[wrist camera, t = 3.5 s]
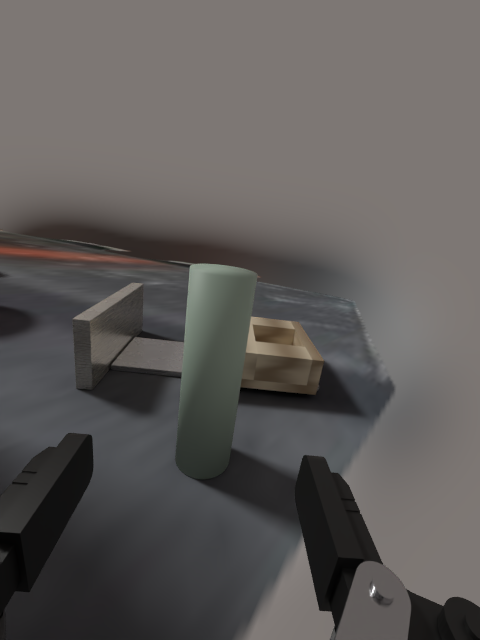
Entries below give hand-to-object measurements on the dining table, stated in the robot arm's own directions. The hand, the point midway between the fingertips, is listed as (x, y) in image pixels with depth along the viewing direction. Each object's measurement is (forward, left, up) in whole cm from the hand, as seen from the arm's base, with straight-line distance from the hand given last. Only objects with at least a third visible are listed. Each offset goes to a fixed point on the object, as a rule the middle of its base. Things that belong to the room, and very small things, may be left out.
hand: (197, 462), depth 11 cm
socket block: (+4, +24, -8) cm, 25 cm away
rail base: (+1, +24, -8) cm, 25 cm away
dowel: (0, +9, -8) cm, 12 cm away
